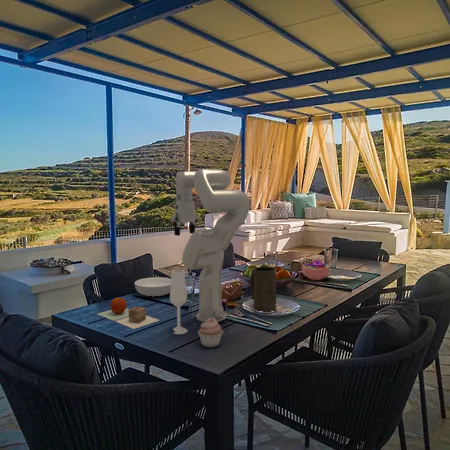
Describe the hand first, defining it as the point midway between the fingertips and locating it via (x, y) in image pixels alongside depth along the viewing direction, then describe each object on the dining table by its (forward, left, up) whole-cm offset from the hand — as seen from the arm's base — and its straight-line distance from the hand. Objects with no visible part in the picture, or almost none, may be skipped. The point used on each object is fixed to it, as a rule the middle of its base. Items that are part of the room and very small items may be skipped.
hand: (184, 234), depth 187 cm
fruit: (+9, +32, -33) cm, 46 cm away
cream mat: (-5, +32, -33) cm, 46 cm away
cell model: (-25, -83, -34) cm, 93 cm away
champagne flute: (-25, +27, -34) cm, 50 cm away
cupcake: (-43, +28, -34) cm, 61 cm away
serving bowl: (+22, +1, -34) cm, 40 cm away
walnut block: (-5, +32, -32) cm, 46 cm away
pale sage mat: (+9, +32, -33) cm, 47 cm away
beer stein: (-33, -16, -34) cm, 50 cm away
